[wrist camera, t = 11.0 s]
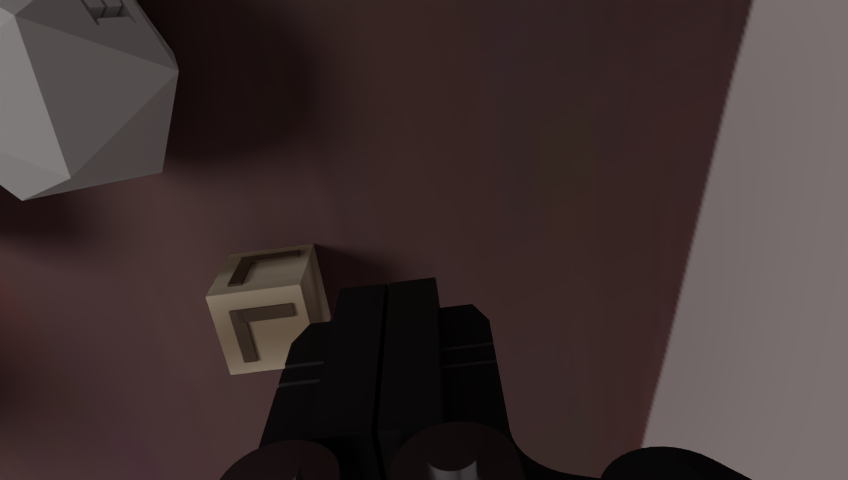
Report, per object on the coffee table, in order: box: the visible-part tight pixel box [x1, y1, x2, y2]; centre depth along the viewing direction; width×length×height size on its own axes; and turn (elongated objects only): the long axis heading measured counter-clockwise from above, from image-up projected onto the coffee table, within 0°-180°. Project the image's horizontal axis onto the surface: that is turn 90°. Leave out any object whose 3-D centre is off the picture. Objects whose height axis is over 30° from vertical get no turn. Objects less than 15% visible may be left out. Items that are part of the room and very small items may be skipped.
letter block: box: [206, 244, 331, 375], centre depth 30 cm, size 4×4×4 cm
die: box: [0, 0, 179, 201], centre depth 24 cm, size 8×9×10 cm
